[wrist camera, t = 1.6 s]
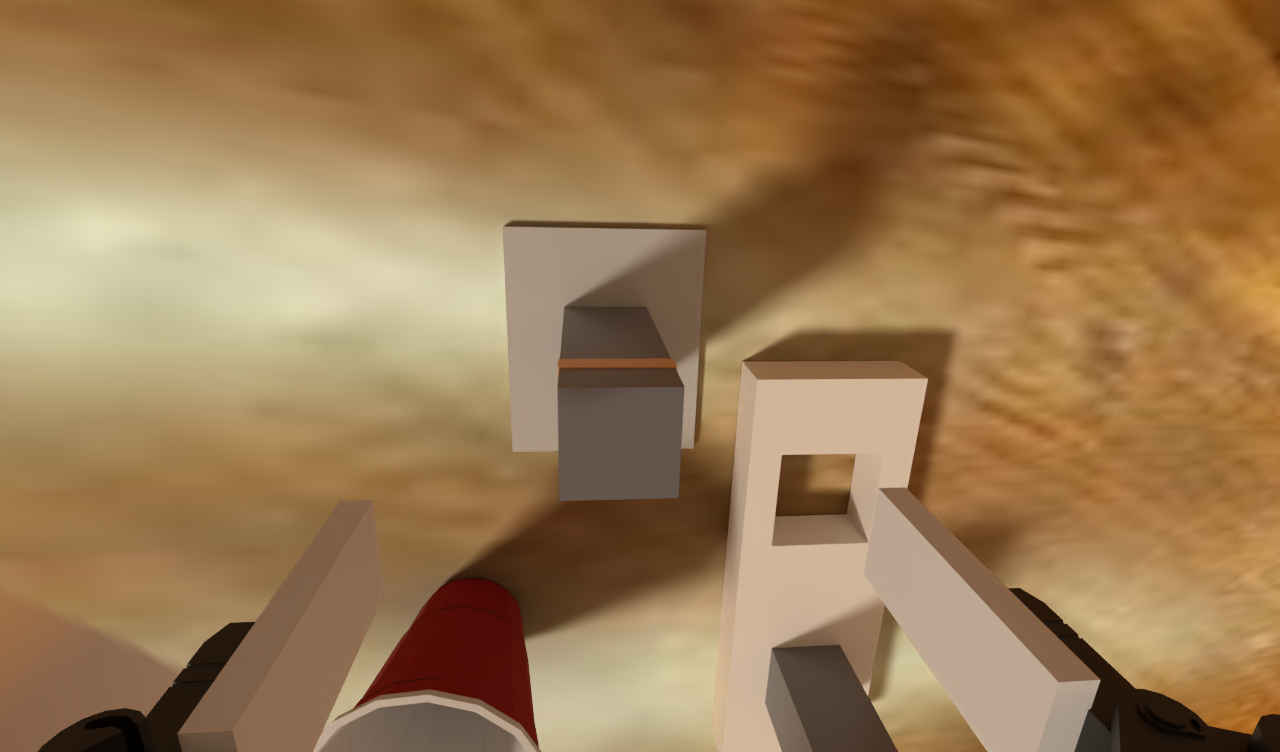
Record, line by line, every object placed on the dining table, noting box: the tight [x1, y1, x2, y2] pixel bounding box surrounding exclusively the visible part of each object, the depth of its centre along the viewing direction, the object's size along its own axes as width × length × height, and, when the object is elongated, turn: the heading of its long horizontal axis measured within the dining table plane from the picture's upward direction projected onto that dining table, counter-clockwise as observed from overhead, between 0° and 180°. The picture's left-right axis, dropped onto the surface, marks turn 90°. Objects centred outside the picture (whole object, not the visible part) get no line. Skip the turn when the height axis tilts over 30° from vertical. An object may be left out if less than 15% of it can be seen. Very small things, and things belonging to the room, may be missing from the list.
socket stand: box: [712, 361, 928, 752], centre depth 31 cm, size 26×9×15 cm, turn 178°
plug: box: [557, 306, 685, 501], centre depth 27 cm, size 4×4×12 cm
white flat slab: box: [503, 226, 707, 452], centre depth 33 cm, size 12×10×1 cm
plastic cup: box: [313, 578, 541, 752], centre depth 32 cm, size 11×11×12 cm
